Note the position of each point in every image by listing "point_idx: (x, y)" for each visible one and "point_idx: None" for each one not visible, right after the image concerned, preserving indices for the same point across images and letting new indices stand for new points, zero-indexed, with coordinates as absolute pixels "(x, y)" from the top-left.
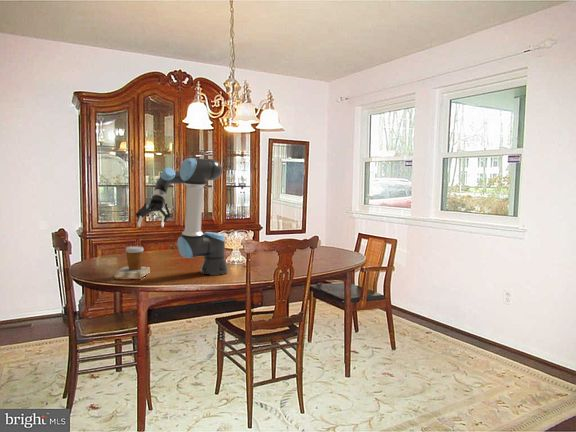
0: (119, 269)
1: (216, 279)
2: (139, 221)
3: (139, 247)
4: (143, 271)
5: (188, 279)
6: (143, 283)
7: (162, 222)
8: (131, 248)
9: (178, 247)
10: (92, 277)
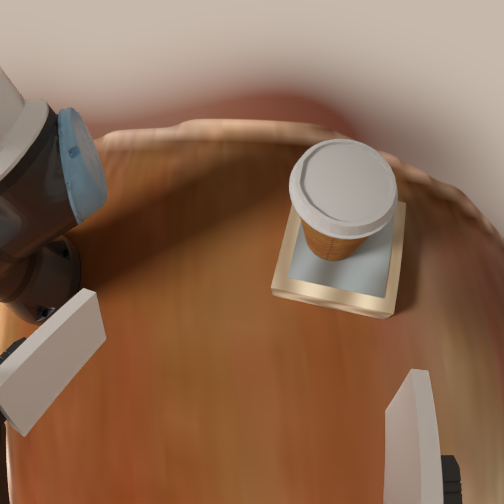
0: (401, 247)
1: None
2: (416, 416)
3: (320, 200)
4: (290, 213)
5: (132, 193)
6: (278, 153)
7: (64, 308)
8: (361, 172)
9: (97, 179)
10: (478, 258)
